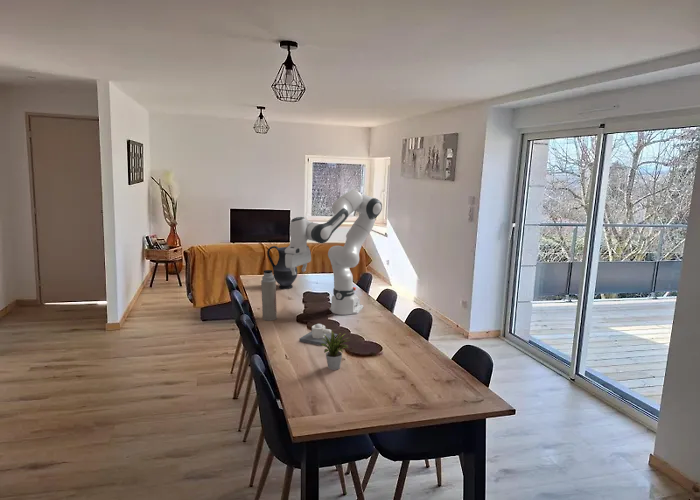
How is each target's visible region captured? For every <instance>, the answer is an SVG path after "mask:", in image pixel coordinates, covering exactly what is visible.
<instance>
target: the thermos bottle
mask: <svg viewBox="0 0 700 500" xmlns="http://www.w3.org/2000/svg"><path fill="white" fill-rule="evenodd" d="M261 279H262V280H261V282H260V283H261V286H260V287H261V304H262V307H261V308H262V309H261V310H262V312H261V313H262V320H263V321H275V320H277V318H278V315H277V313H278V312H277V311H278V309H277V289H276V288H277V287H276V285H277V284H276V283H277V282H276V280H275V278H274V275H273V269H266V270H263V276H262V277H261Z"/></svg>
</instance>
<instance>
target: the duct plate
mask: <svg viewBox="0 0 700 500" xmlns="http://www.w3.org/2000/svg"><path fill="white" fill-rule="evenodd" d="M314 325H315V328H322V325H323V324H322V323H316V324H314ZM331 334H332V332H331ZM331 334H326V337H327V338H328V337H329V338H330V339H329V338H328V339H329V341H330V340H331ZM334 335H335V337H336V336H337V335H339V334H338V333H335V332H334ZM324 338H325V337H324ZM324 338H319V339H317V338H313V337H312V330H311V331H309V332H308V333H306V334H305V335H302V336H301V337H300V338H299V340H298V341H299V342H302V343H306V344H312V345H318V346H323V345H321V344H323V343H324V344H326V343H327V342H326V341H325V339H326V338H325V339H324ZM336 338H337V337H336ZM322 339H323V340H324V341H325V342H326V343H325V342H324V341H322ZM330 343H331V341H330ZM327 344H328V343H327ZM327 344H326V345H327ZM323 347H324V346H323Z"/></svg>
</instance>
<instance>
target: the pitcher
mask: <svg viewBox="0 0 700 500" xmlns="http://www.w3.org/2000/svg"><path fill="white" fill-rule="evenodd" d="M287 247H288V246H284V247H282V246H281V247H278V246H276V245H272V246H270V247H268V249H267V251H266V252H267V258H268V260H269V262H270V265H271V267H272V273H273V276H274V279H275V280H276V283H277V284H278V285H279V286H278V288H279V290H280V289H282V290H288V289H293V283H294V281H296V279H297V277H298V268H297V267H298V266H297V267H295V272H296V275H292V271H291V269H290V268H287V267H286V265H285V255H286V254H287V253H285V249H286V248H287ZM272 249H276V250H277V252H278V260H277V262H276V264H275V263H274V260H273V259H272V257H271V254H270V253H271V252H270V251H271V250H272Z"/></svg>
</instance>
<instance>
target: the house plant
mask: <svg viewBox="0 0 700 500" xmlns="http://www.w3.org/2000/svg"><path fill="white" fill-rule="evenodd" d="M331 333H332V334H331V340H330V341H331V342H330V341H329V339H330V338H329V337H328V338H329V339H328V338H327V337H326V336H325V335H324V336H325V338H326V339H325V338H324V339H325V341H326V342H327V343H328V344H327V343H326V342H325V341H324V340H323V339H322V341H324V342H325V343H326V344H324V343H323V344H321V345H323V347H326V348H325V349H324V351H323V352H324V353H325V358H326V363H327V369H329V370H331V371H337V370H339V369H340V368H341V365H342V363H341V362H342V358H343V349H348V348H349V346H348V344H345V342H346V343H347V342H348V339H349V337H346V338H344V336H345V335H347V333H343V334H342V331H341V332H339V334H338V336H337V337H336V338H335V335H334V333H335V332H334V331H333V330H331ZM341 334H342V335H341ZM343 338H344V339H343ZM321 345H320V346H321Z"/></svg>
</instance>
